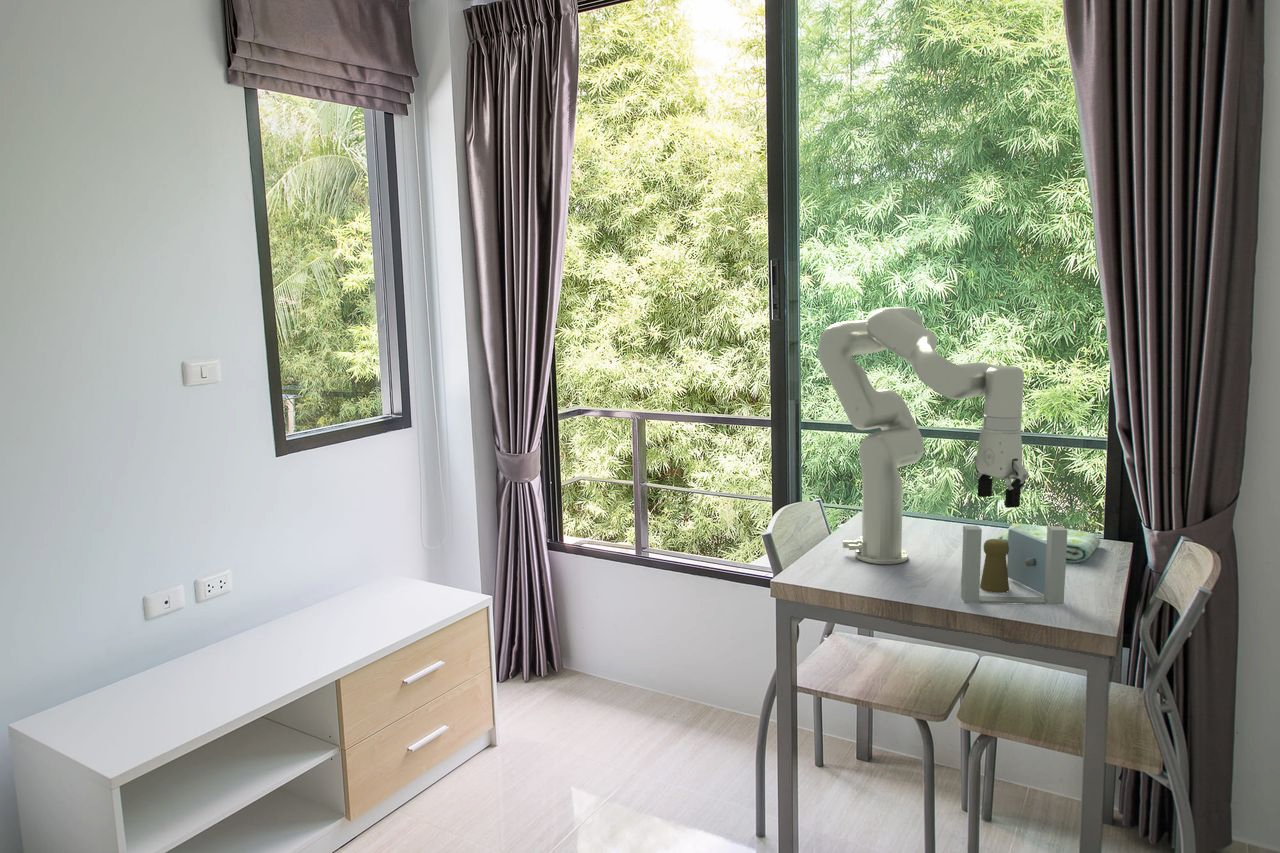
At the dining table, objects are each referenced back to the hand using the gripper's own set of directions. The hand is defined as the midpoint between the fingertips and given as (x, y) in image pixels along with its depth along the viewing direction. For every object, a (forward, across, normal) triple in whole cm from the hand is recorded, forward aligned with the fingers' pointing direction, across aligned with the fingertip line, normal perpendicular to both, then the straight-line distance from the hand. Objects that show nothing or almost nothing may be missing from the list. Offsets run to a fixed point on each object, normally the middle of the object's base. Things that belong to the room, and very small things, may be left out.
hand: (998, 501), depth 193 cm
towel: (+20, -21, +30) cm, 42 cm away
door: (+19, +3, +6) cm, 20 cm away
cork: (+20, 0, 0) cm, 20 cm away
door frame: (+19, +8, -1) cm, 21 cm away
